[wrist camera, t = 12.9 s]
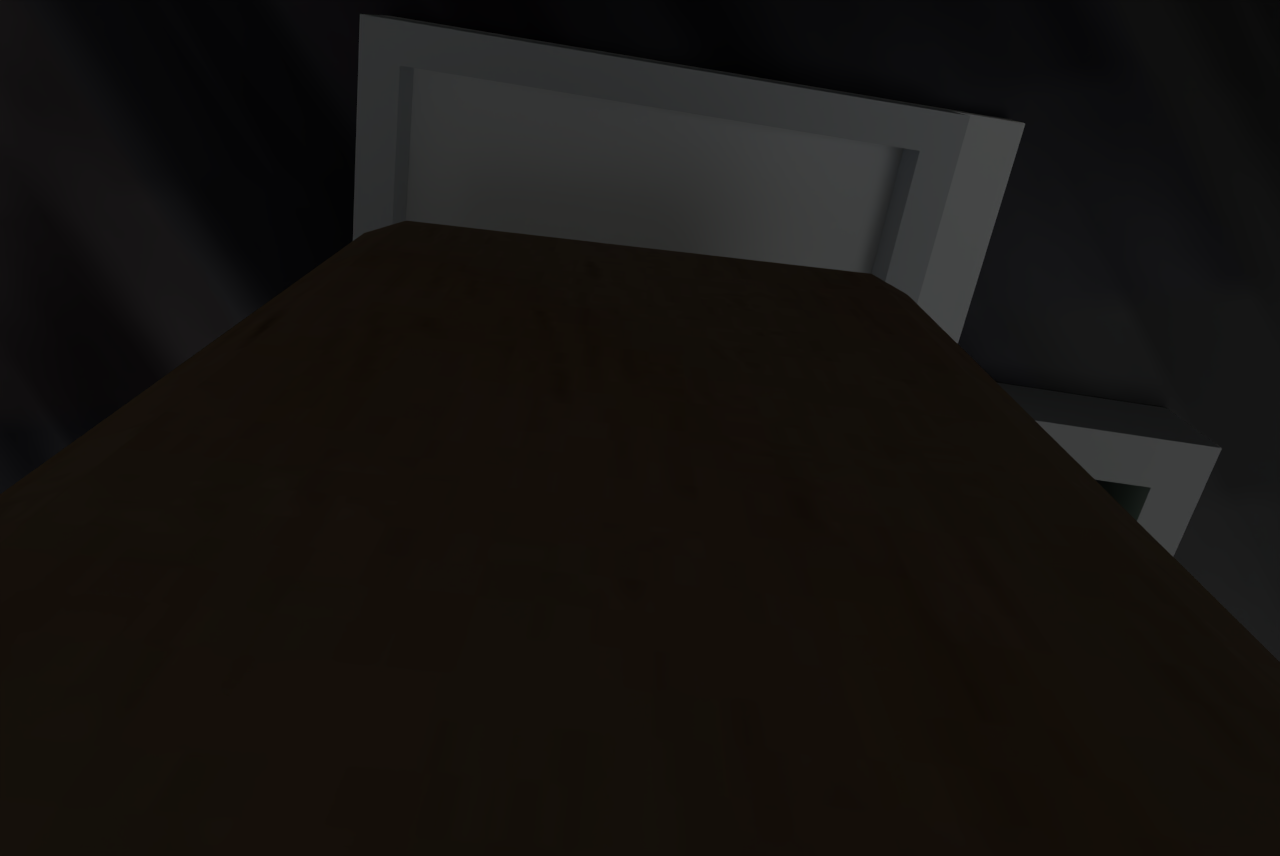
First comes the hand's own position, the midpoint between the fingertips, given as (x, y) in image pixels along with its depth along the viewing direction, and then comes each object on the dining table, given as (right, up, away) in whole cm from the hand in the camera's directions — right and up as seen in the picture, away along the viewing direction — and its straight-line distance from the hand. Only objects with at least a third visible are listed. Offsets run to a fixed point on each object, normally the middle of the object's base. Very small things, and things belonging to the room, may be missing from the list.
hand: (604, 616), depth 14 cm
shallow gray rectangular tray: (+1, +6, +14) cm, 15 cm away
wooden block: (0, +2, +5) cm, 5 cm away
